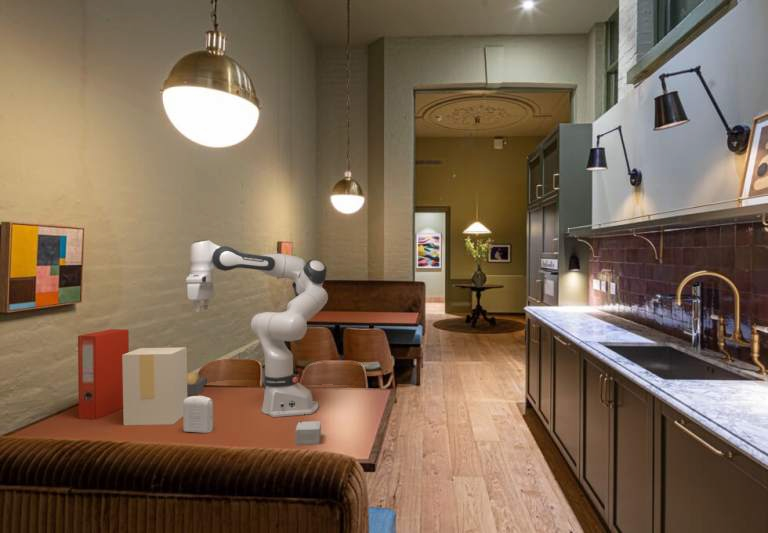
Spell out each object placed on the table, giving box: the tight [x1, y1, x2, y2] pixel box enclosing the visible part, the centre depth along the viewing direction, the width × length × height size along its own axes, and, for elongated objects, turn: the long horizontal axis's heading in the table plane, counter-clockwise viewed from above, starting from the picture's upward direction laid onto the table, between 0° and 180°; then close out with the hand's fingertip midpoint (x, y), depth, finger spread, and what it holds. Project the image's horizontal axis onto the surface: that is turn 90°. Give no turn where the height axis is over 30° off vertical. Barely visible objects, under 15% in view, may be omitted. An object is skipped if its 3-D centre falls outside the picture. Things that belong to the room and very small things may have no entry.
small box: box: [294, 420, 322, 446], centre depth 152 cm, size 8×8×5 cm
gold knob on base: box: [187, 371, 208, 396], centre depth 214 cm, size 21×8×10 cm, turn 3°
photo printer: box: [182, 395, 214, 434], centre depth 161 cm, size 10×4×12 cm, turn 81°
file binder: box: [77, 328, 130, 421], centre depth 183 cm, size 8×17×32 cm, turn 170°
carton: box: [122, 346, 188, 426], centre depth 174 cm, size 18×13×26 cm
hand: (202, 310), depth 194 cm, fingers open, 8 cm apart
